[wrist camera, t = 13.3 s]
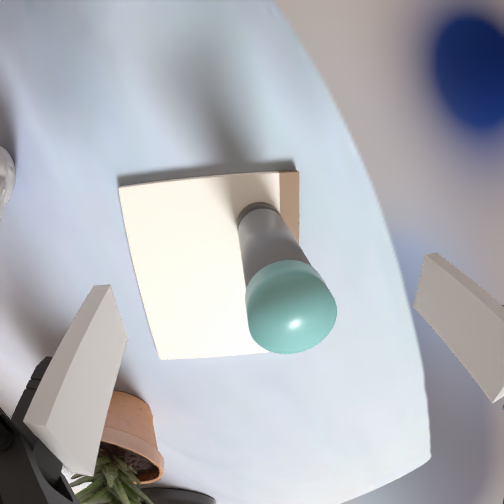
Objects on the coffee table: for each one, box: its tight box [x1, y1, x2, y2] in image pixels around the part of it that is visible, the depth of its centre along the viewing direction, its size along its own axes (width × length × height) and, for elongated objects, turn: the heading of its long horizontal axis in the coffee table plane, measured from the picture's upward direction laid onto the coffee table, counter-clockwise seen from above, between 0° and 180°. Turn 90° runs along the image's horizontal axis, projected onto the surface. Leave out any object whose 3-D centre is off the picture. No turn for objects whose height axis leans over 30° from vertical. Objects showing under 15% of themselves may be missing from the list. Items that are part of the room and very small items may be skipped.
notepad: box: [119, 170, 299, 360], centre depth 21 cm, size 11×14×1 cm
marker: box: [237, 202, 337, 354], centre depth 14 cm, size 3×3×10 cm
